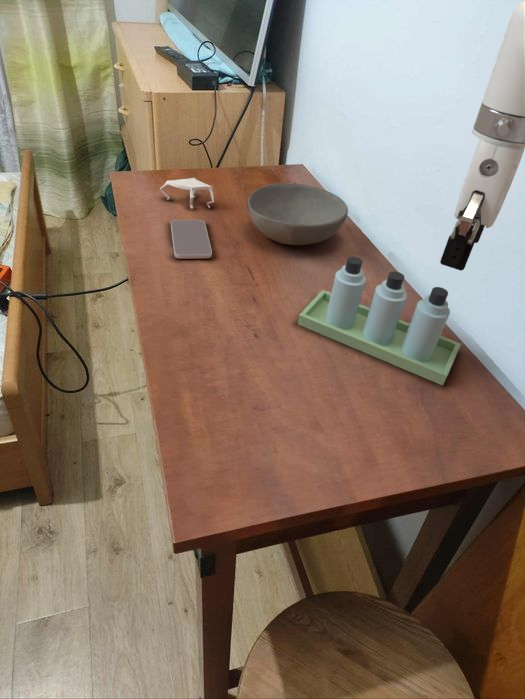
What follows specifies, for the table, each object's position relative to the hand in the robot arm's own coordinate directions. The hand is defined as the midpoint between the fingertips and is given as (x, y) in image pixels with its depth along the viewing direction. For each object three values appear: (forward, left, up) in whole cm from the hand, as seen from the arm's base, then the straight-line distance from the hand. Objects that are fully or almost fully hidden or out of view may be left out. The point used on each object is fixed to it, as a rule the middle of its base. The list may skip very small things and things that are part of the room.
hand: (459, 252), depth 72 cm
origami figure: (+62, -21, -20) cm, 69 cm away
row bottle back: (+14, 0, -19) cm, 24 cm away
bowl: (+35, -23, -20) cm, 47 cm away
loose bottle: (+1, 0, -19) cm, 19 cm away
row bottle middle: (+7, 0, -19) cm, 20 cm away
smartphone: (+51, -7, -20) cm, 55 cm away
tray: (+7, 0, -20) cm, 21 cm away
